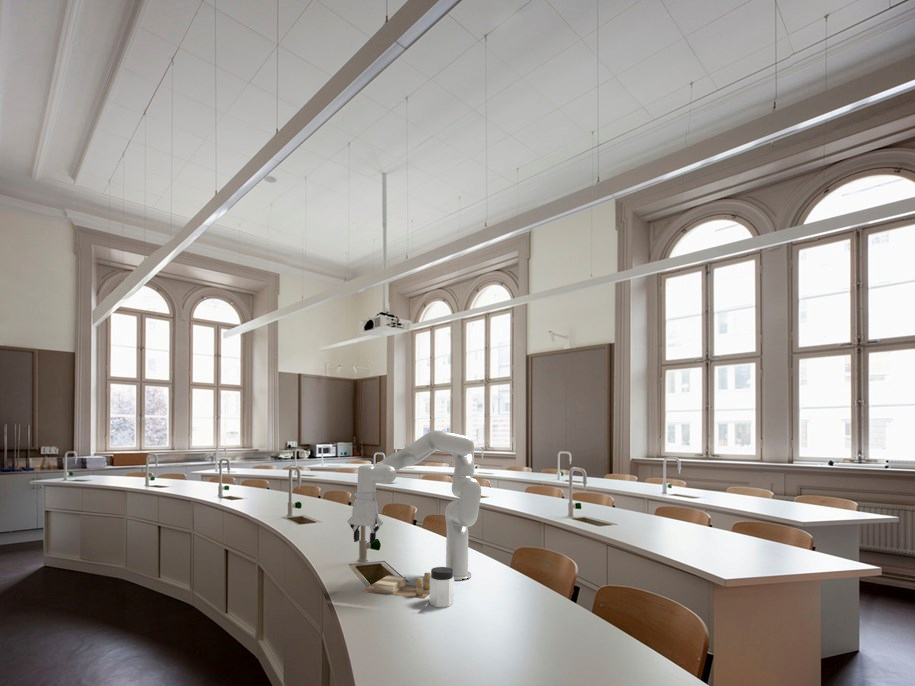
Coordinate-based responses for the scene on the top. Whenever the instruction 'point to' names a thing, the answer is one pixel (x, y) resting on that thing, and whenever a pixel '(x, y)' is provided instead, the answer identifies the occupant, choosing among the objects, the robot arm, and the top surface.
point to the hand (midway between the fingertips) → (364, 541)
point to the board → (410, 588)
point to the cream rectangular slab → (389, 584)
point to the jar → (441, 587)
